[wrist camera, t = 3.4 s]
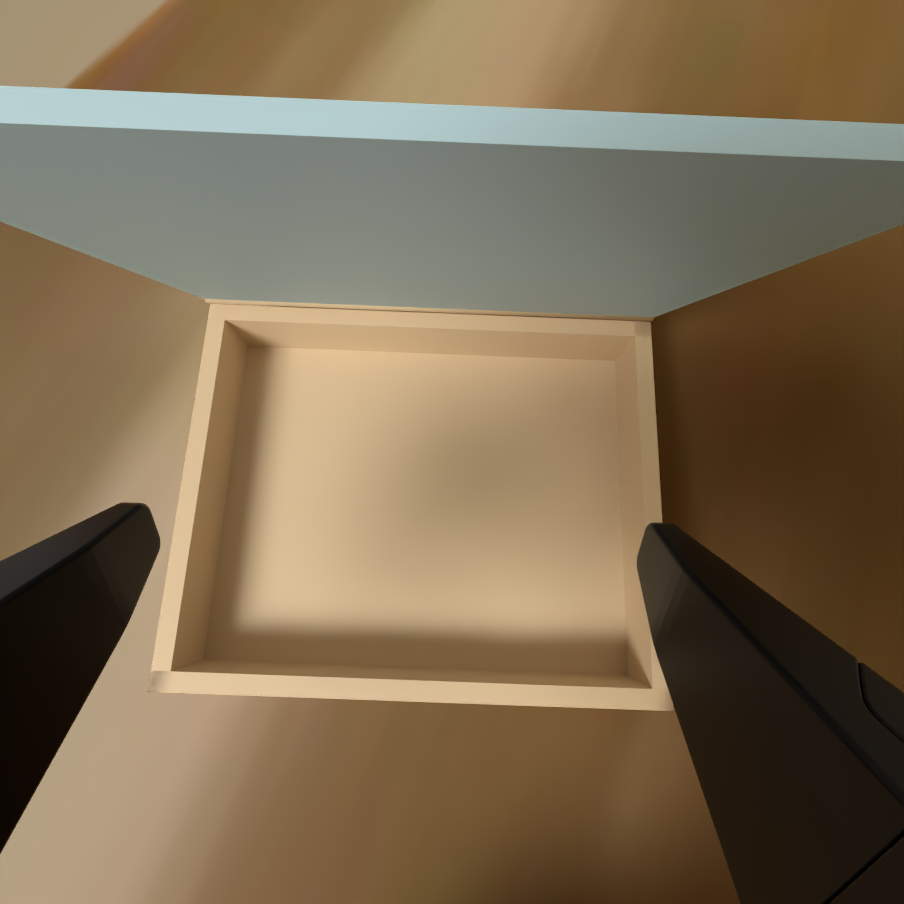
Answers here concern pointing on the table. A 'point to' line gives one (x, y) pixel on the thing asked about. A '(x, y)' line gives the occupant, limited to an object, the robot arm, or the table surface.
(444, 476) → the wooden tray
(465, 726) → the table surface
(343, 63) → the table surface
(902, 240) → the table surface
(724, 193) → the lid
